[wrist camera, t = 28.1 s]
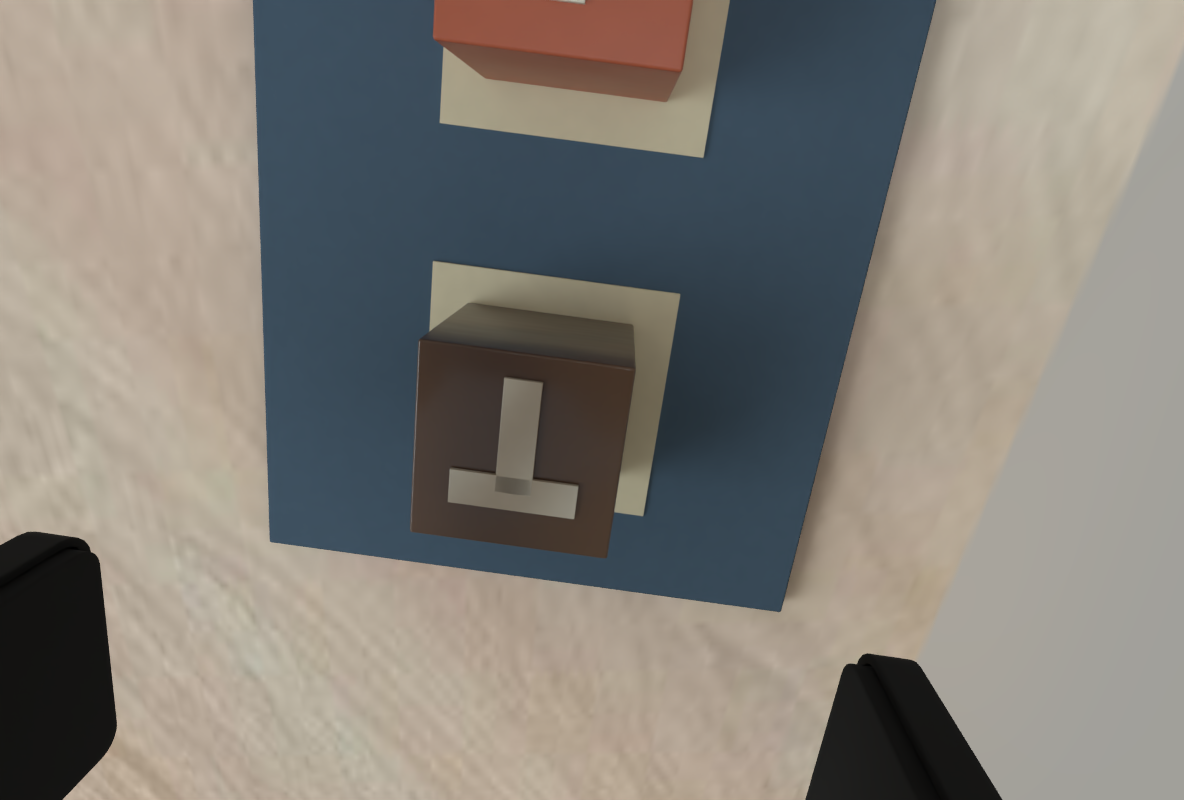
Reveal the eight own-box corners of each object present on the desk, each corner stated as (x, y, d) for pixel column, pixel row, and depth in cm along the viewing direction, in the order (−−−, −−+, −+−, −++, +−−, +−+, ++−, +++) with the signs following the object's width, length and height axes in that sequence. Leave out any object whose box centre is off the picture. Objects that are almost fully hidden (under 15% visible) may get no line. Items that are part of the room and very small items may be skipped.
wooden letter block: (633, 324, 18) (636, 369, 13) (611, 476, 19) (606, 562, 15) (468, 301, 18) (416, 339, 13) (457, 455, 19) (407, 535, 15)
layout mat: (996, -274, 14) (1014, -296, 13) (776, 601, 21) (782, 615, 20) (254, -368, 14) (237, -394, 14) (278, 532, 21) (267, 544, 20)
